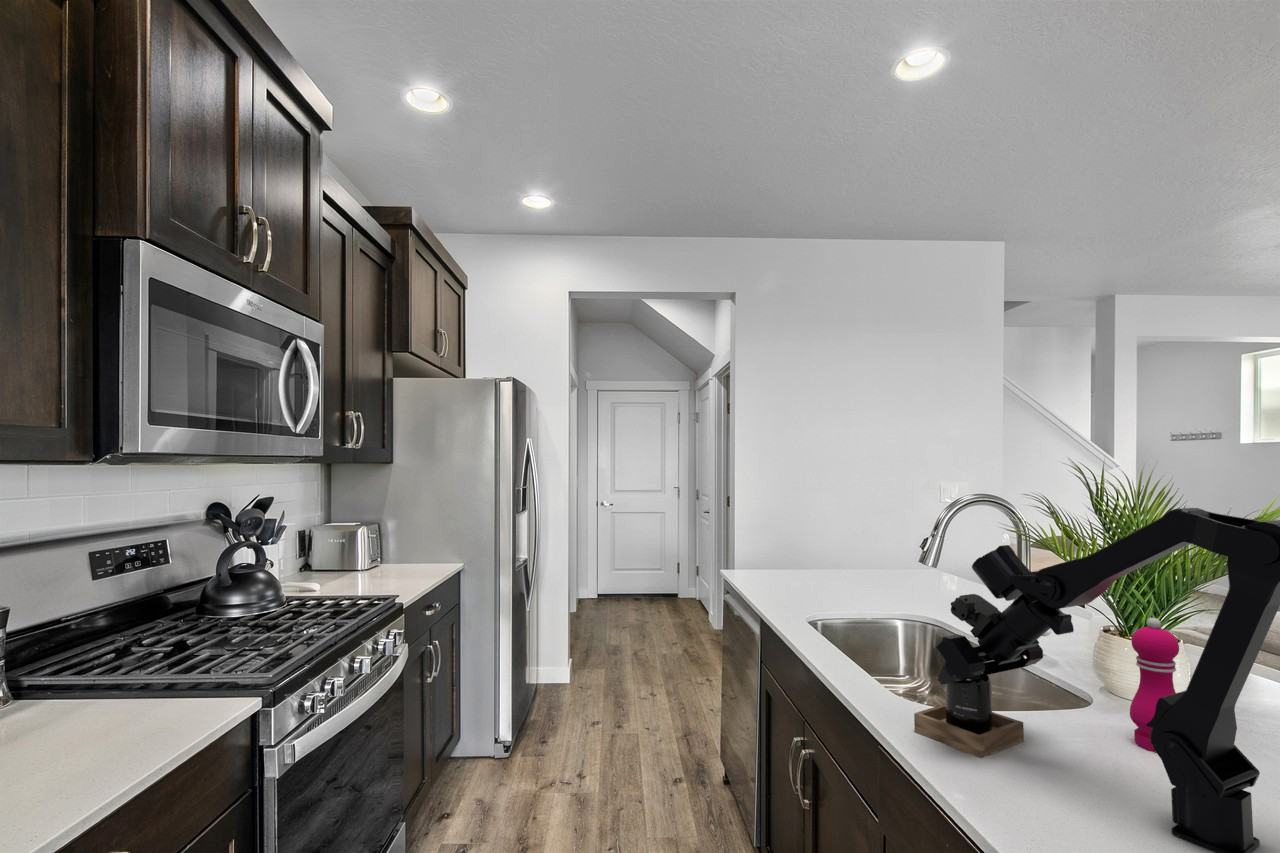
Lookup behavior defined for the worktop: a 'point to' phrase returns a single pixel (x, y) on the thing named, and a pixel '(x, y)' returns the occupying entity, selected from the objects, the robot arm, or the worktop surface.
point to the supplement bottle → (970, 704)
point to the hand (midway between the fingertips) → (959, 677)
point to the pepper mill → (1152, 675)
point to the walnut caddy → (981, 745)
